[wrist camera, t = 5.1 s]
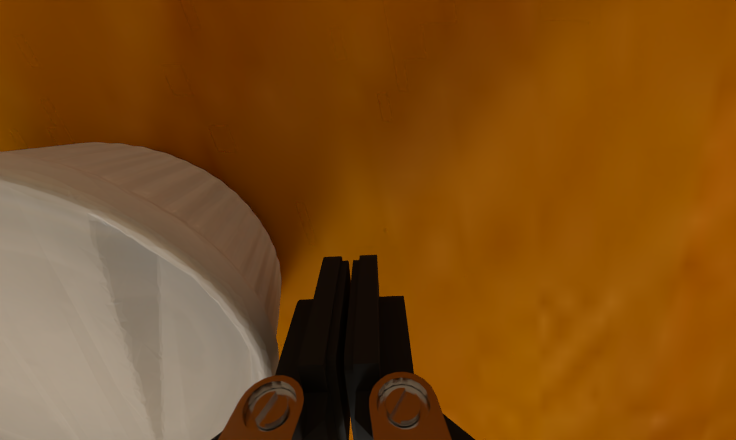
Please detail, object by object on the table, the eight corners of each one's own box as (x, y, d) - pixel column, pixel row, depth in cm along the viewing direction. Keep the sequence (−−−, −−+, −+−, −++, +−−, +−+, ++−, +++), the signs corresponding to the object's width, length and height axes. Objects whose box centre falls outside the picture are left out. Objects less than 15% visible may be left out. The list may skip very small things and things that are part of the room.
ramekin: (350, 314, 14) (339, 441, 10) (151, 378, 16) (62, 508, 12) (193, 52, 10) (23, 47, 5) (-55, 189, 12) (-341, 277, 7)
